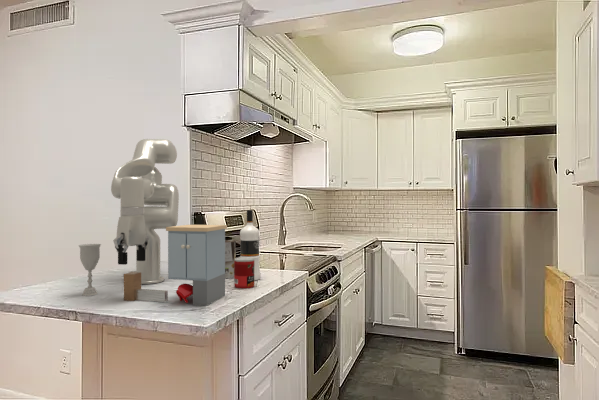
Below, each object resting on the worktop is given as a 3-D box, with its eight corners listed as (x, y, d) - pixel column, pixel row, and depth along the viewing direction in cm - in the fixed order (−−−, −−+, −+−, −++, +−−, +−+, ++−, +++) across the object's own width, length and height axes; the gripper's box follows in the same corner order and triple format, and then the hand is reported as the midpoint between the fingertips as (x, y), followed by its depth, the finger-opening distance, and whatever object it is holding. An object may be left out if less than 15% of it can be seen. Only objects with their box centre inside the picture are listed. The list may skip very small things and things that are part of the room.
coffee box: (234, 278, 174) (234, 241, 174) (219, 278, 174) (219, 241, 174) (235, 274, 183) (235, 239, 183) (221, 274, 183) (221, 239, 183)
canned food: (250, 289, 153) (250, 260, 153) (231, 288, 154) (231, 259, 154) (257, 285, 160) (256, 257, 160) (238, 284, 162) (238, 257, 162)
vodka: (240, 277, 176) (240, 209, 176) (261, 277, 176) (261, 209, 177) (237, 281, 167) (237, 210, 167) (259, 281, 167) (259, 210, 167)
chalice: (78, 297, 140) (78, 246, 140) (78, 293, 146) (78, 244, 146) (101, 295, 144) (101, 245, 144) (101, 291, 150) (101, 243, 150)
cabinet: (164, 304, 130) (164, 227, 131) (189, 293, 146) (188, 224, 146) (206, 307, 127) (206, 227, 127) (227, 295, 142) (226, 225, 142)
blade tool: (123, 300, 136) (123, 274, 136) (131, 297, 140) (131, 272, 140) (162, 302, 132) (162, 275, 132) (169, 300, 136) (169, 273, 136)
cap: (181, 295, 129) (196, 283, 132) (171, 286, 133) (186, 275, 136) (189, 310, 134) (203, 299, 137) (179, 302, 138) (193, 291, 141)
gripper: (138, 212, 146) (138, 259, 146) (105, 212, 130) (104, 265, 129) (156, 212, 145) (156, 259, 144) (125, 212, 128) (124, 266, 127)
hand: (132, 262), depth 137 cm, fingers open, 9 cm apart
